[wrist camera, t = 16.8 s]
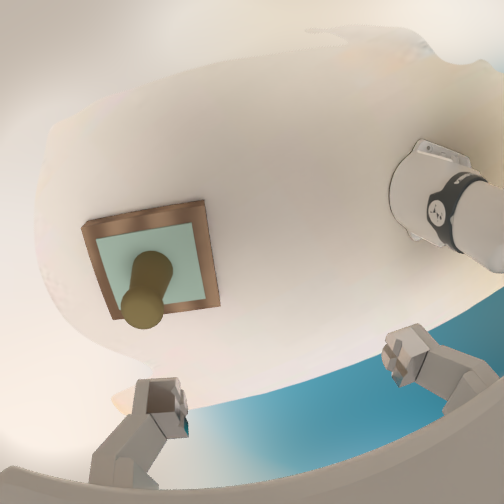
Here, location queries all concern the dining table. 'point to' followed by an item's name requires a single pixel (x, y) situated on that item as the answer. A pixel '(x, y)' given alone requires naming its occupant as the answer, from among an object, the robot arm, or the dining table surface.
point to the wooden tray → (161, 240)
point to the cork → (147, 290)
